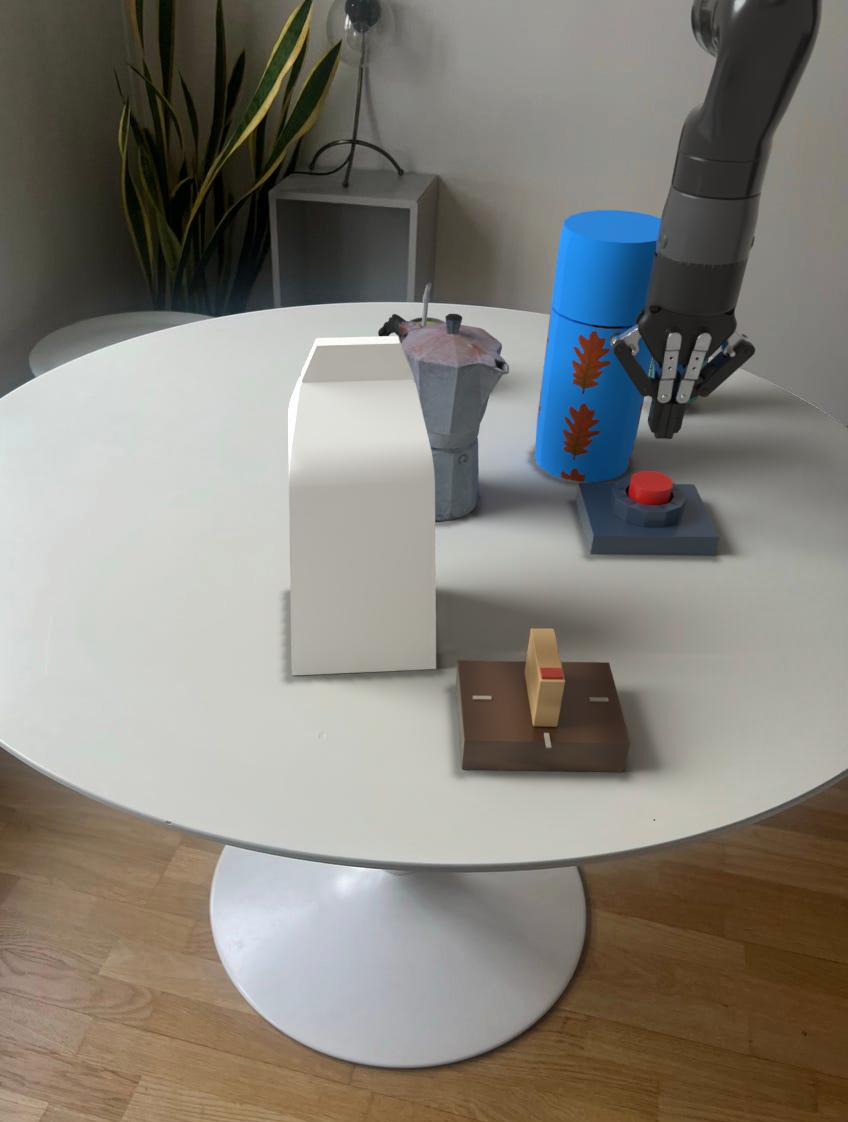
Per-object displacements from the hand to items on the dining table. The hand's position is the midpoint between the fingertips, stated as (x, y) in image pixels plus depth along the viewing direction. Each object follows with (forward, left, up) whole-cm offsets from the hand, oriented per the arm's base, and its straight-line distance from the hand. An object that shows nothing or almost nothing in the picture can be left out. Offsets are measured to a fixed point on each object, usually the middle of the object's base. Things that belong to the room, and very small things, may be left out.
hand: (661, 434), depth 91 cm
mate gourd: (+21, -32, -10) cm, 39 cm away
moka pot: (+21, -5, -10) cm, 24 cm away
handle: (+14, +29, -7) cm, 33 cm away
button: (0, 0, -6) cm, 7 cm away
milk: (+28, +17, -10) cm, 35 cm away
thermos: (+4, -14, -10) cm, 18 cm away
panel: (+14, +29, -10) cm, 34 cm away
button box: (0, 0, -10) cm, 10 cm away
